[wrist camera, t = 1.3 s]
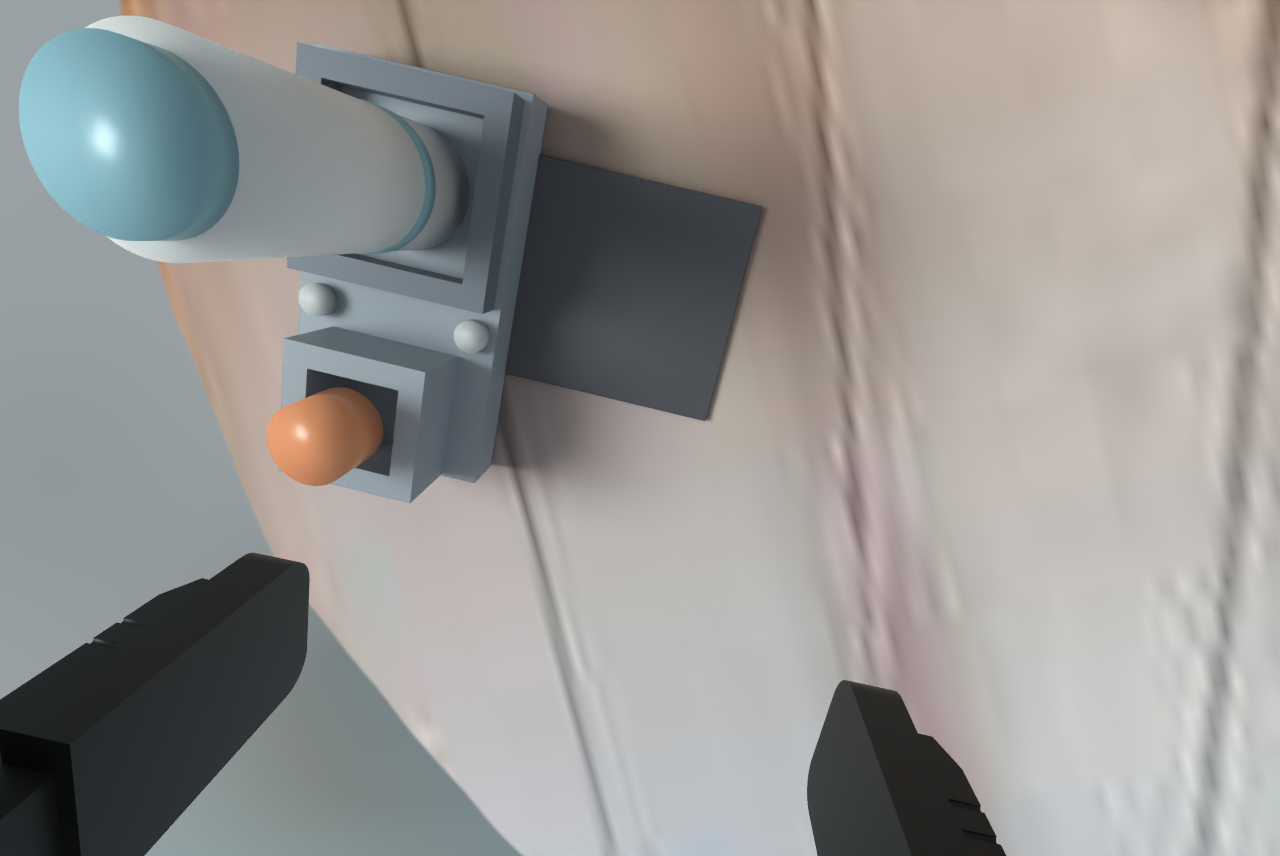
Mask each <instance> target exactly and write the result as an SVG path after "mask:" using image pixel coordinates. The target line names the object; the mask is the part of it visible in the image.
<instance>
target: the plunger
mask: <svg viewBox="0 0 1280 856" xmlns="http://www.w3.org/2000/svg"><path fill="white" fill-rule="evenodd" d="M382 439H383V424H382V420H381V417H380V415H379V413H378V411H377V409H376V408H375V406H374V405H373V404H372V402H371V401H370V400H369V399H368V398H366V397H365V396H364V395H362V394H361V393H359V392H357V391H355V390H352V389H349V388H344V387H334V388H329V389H326V390H324V391H321V392H319V393H317V394H314V395H312V396H309V397H307V398H304V399H302V400H300V401H297V402H295V403H292V404H290V405H288V406H285V407H283V408H282V409H280V410H279V411H278V412H276V414H275V415H274V416H273V417H272V419H271V421H270V423H269V425H268V429H267V444H268V448H269V451H270V454H271V456H272V458H273V460H274V461H275V463H276V464H277V466H278V467H279V468H280V469H281V470H282V471H283V472H284V473H285V474H286V475H288V476H289V477H290V478H292V479H294V480H296V481H298V482H300V483H303V484H306V485H312V486H321V485H327V484H330V483H332V482H334V481H336V480H337V479H339V478H340V477H342V476H343V475H345V474H346V473H348V472H349V471H351V470H352V469H354V468H355V467H357V466H358V465H360V464H361V463H363V462H364V461H365V460H367V459H368V458H370V457H371V456H373V455H374V454H375V453H376V451H377V450H378V449H379V447H380V445H381V442H382Z"/></svg>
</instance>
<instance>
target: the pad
mask: <svg viewBox="0 0 1280 856" xmlns="http://www.w3.org/2000/svg"><path fill="white" fill-rule="evenodd" d="M761 209H762V207H761V206H757V205H753V204H749V203H744V202H740V201H736V200H731V199H727V198H723V197H718V196H714V195H710V194H705V193H701V192H697V191H693V190H688V189H684V188H680V187H675V186H671V185H667V184H662V183H658V182H654V181H650V180H645V179H641V178H637V177H632V176H628V175H624V174H619V173H615V172H611V171H606V170H602V169H598V168H594V167H589V166H585V165H581V164H576V163H572V162H568V161H563V160H559V159H555V158H551V157H546V156H542V155H539V159H538V165H537V172H536V178H535V184H534V191H533V197H532V203H531V209H530V216H529V222H528V228H527V235H526V241H525V247H524V254H523V260H522V266H521V273H520V279H519V285H518V292H517V298H516V304H515V310H514V317H513V323H512V329H511V336H510V342H509V348H508V355H507V361H506V367H505V373H507V374H511V375H516V376H520V377H524V378H528V379H532V380H536V381H540V382H545V383H549V384H553V385H557V386H561V387H565V388H570V389H574V390H578V391H582V392H586V393H590V394H595V395H599V396H603V397H607V398H611V399H615V400H620V401H624V402H628V403H632V404H636V405H640V406H645V407H649V408H653V409H657V410H661V411H665V412H670V413H674V414H678V415H682V416H686V417H690V418H694V419H699V420H703V421H705V419H706V416H707V412H708V408H709V404H710V401H711V397H712V393H713V389H714V386H715V382H716V378H717V374H718V371H719V367H720V363H721V359H722V356H723V352H724V348H725V344H726V341H727V337H728V333H729V329H730V326H731V322H732V318H733V314H734V311H735V307H736V303H737V299H738V296H739V292H740V288H741V284H742V281H743V277H744V273H745V269H746V266H747V262H748V258H749V254H750V251H751V247H752V243H753V239H754V236H755V232H756V228H757V224H758V221H759V217H760V213H761Z"/></svg>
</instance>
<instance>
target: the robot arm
mask: <svg viewBox="0 0 1280 856" xmlns="http://www.w3.org/2000/svg"><path fill="white" fill-rule="evenodd" d="M308 605H309V571H308V568H307V566H306V565H305V564H303V563H300V562H295V561H290V560H286V559H281V558H276V557H272V556H267V555H262V554H257V553H249V554H246V555H245V556H243V557H241V558H240V559H238V560H237V561H235V562H234V563H233V564H231V565H230V566H228V567H227V568H225V569H224V570H223V571H221V572H220V573H218V574H217V575H215V576H214V577H213V578H211V579H210V580H207V579H203V578H202V579H199V580H196V581H194V582H191V583H188V584H186V585H184V586H181V587H178V588H175V589H173V590H170V591H167V592H165V593H162V594H159V595H158V596H156V597H155V598H153V599H152V600H150V601H149V602H147V603H146V604H144V605H143V606H141V607H140V608H138V609H137V610H135V611H134V612H132V613H131V614H129V615H127V616H126V617H124V620H123V622H122V623H115V624H114V625H113V626H111V627H109V628H108V629H106V630H105V631H103V632H102V633H100V634H99V635H97V636H96V637H94V640H93V642H92V643H91V644H88V643H85V644H84V645H82V646H81V647H79V648H78V649H76V650H75V651H73V652H72V653H70V654H69V655H67V656H65V657H64V658H62V659H61V660H59V661H58V662H56V663H55V664H53V665H52V666H50V667H49V668H47V669H46V670H44V671H43V672H41V673H40V674H38V675H37V676H35V677H34V678H32V679H31V680H29V681H28V682H26V683H25V684H23V685H22V686H20V687H19V688H17V689H16V690H14V691H13V692H11V693H10V694H8V695H7V696H5V697H3V698H2V699H0V856H144V855H145V854H146V853H147V852H148V851H149V850H150V849H151V847H152V846H153V845H154V844H155V843H156V842H157V841H158V840H159V839H160V837H161V836H162V835H163V834H164V833H165V832H166V831H167V830H168V829H169V827H170V826H171V825H172V824H173V823H174V822H175V821H176V819H177V818H178V817H179V816H180V815H181V814H182V813H183V812H184V811H185V809H186V808H187V807H188V806H189V805H190V804H191V803H192V801H194V799H195V798H196V797H197V796H198V795H199V794H200V793H201V792H202V790H203V789H204V788H205V787H206V786H207V785H208V784H209V783H210V781H211V780H212V779H213V778H214V777H215V776H216V775H217V774H218V772H219V771H220V770H221V769H222V768H223V767H224V766H225V765H226V764H227V762H228V761H229V760H230V759H231V758H232V757H233V756H234V755H235V754H236V752H237V751H238V750H239V749H240V748H241V747H242V746H243V745H244V743H245V742H246V741H247V740H248V739H249V738H250V737H251V736H252V734H253V733H254V732H255V731H256V730H257V729H258V728H259V726H261V724H262V723H263V722H264V721H265V720H266V719H267V718H268V717H269V715H270V714H271V713H272V712H273V711H274V710H275V709H276V708H277V706H278V705H279V704H280V703H281V702H282V701H283V700H284V699H285V698H286V696H287V695H288V694H289V693H290V691H291V690H292V688H293V687H294V685H295V683H296V682H297V679H298V678H299V676H300V673H301V671H302V668H303V665H304V662H305V658H306V652H307V632H308V631H307V630H308ZM807 801H808V810H809V815H810V820H811V825H812V830H813V835H814V840H815V845H816V850H817V855H818V856H1006V854H1005V852H1004V850H1003V848H1002V846H1001V845H999V844H997V843H996V835H995V833H994V831H993V829H992V827H991V825H990V823H989V821H988V819H987V817H986V815H985V813H982V812H981V811H980V806H981V805H980V803H979V801H978V799H977V797H976V796H975V794H974V792H973V790H972V788H971V786H970V784H969V782H968V780H967V778H966V776H965V774H964V772H963V770H962V769H961V768H960V767H959V765H958V764H957V763H956V762H955V761H954V760H953V759H952V758H951V757H950V756H949V754H948V753H947V752H946V751H945V750H944V749H943V748H942V747H941V746H940V745H939V743H938V742H937V741H936V740H935V739H934V738H933V737H931V736H927V735H922V734H918V733H917V730H916V728H915V726H914V724H913V722H912V719H911V717H910V715H909V713H908V711H907V709H906V706H905V704H904V702H903V700H902V698H901V696H900V695H899V694H898V692H896V691H893V690H889V689H884V688H879V687H874V686H870V685H865V684H860V683H856V682H851V681H846V680H843V681H841V682H840V683H839V684H838V686H837V688H836V690H835V693H834V695H833V698H832V701H831V704H830V707H829V710H828V713H827V716H826V719H825V722H824V725H823V728H822V731H821V734H820V737H819V740H818V743H817V746H816V748H815V751H814V754H813V757H812V760H811V764H810V769H809V775H808V785H807Z"/></svg>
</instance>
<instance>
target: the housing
mask: <svg viewBox="0 0 1280 856" xmlns="http://www.w3.org/2000/svg"><path fill="white" fill-rule="evenodd" d="M296 75H299V76H301V77H304V78H306V79H309V80H312V81H314V82H317V83H319V84H322V85H324V86H327V87H329V88H332V89H334V90H337V91H339V92H342V93H344V94H347V95H350V96H352V97H355V98H357V99H362V100H365V101H368V102H372V103H374V104H377V105H379V106H382V107H384V108H386V109H388V110H390V111H392V112H394V113H395V114H398V115H400V116H403V117H405V118H408V119H410V120H413V121H415V122H418V123H421V124H423V125H426V126H428V127H430V128H432V129H434V130H435V131H437V132H438V133H440V134H441V135H442V136H444V137H445V138H446V139H447V140H448V141H449V142H450V143H451V144H452V145H453V147H454V148H455V149H456V151H457V152H458V154H459V156H460V157H461V159H462V161H463V164H464V166H465V169H466V172H467V176H468V181H469V203H468V209H467V212H466V215H465V218H464V220H463V222H462V224H461V225H460V227H459V228H458V230H457V231H456V232H455V233H454V234H453V235H452V236H451V237H450V238H449V239H448V240H447V241H445V242H443V243H442V244H440V245H438V246H435V247H432V248H429V249H423V250H408V251H391V252H387V253H379V254H357V253H354V254H336V255H318V256H301V257H287V268H291V269H295V270H299V271H301V290H300V292H299V303H300V309H299V328H298V335H296V336H292V337H288V338H284V355H283V377H282V398H281V409H282V408H283V407H285V406H288V405H290V404H292V403H295V402H297V401H300V400H302V399H304V398H307V397H309V396H312V395H314V394H317V393H319V392H321V391H324V390H326V389H329V388H334V387H344V388H349V389H352V390H355V391H357V392H359V393H361V394H362V395H364V396H365V397H366V398H368V399H369V400H370V401H371V402H372V404H373V405H374V406H375V408H376V409H377V411H378V413H379V415H380V417H381V420H382V424H383V439H382V442H381V445H380V447H379V449H378V450H377V451H376V453H375V454H374V455H373V456H371V457H370V458H368V459H367V460H365V461H364V462H363V463H361V464H360V465H358V466H357V467H355V468H354V469H352V470H351V471H349V472H348V473H346V474H345V475H343V476H342V477H340V478H339V479H337V480H336V481H334V482H332V483H330V484H333V485H337V486H341V487H345V488H349V489H353V490H358V491H362V492H366V493H370V494H374V495H378V496H382V497H386V498H390V499H394V500H398V501H402V502H406V503H411V502H412V501H413V500H414V499H415V498H416V497H417V496H418V495H419V494H421V493H422V492H423V491H424V490H425V489H426V488H427V487H428V486H429V485H430V484H431V483H432V482H433V481H435V480H436V479H437V478H438V477H439V476H440V475H443V476H447V477H451V478H455V479H459V480H463V481H467V482H471V483H475V482H476V481H477V480H478V479H479V478H480V477H481V475H482V474H483V473H484V472H485V471H486V470H487V469H488V468H489V467H490V466H491V462H492V456H493V450H494V443H495V437H496V431H497V424H498V418H499V412H500V406H501V399H502V393H503V387H504V380H505V374H506V373H505V367H506V361H507V355H508V348H509V342H510V336H511V329H512V323H513V317H514V310H515V304H516V298H517V292H518V285H519V279H520V273H521V266H522V260H523V254H524V247H525V241H526V235H527V228H528V222H529V216H530V209H531V203H532V197H533V191H534V184H535V178H536V172H537V165H538V159H539V155H540V154H541V148H542V141H543V135H544V129H545V122H546V116H547V110H548V106H547V105H546V104H545V103H544V102H542V101H541V100H540V99H539V98H538V97H537V96H535V95H534V94H532V93H527V92H523V91H519V90H514V89H510V88H506V87H501V86H497V85H493V84H488V83H484V82H480V81H475V80H471V79H467V78H462V77H458V76H453V75H449V74H445V73H440V72H436V71H432V70H427V69H423V68H419V67H414V66H410V65H406V64H401V63H397V62H393V61H388V60H384V59H380V58H375V57H371V56H367V55H362V54H358V53H354V52H349V51H345V50H341V49H336V48H332V47H327V46H323V45H319V44H314V43H313V46H311V45H306V44H302V43H298V42H297V59H296ZM278 471H280V472H283V471H282V470H281V469H280V468H279V467H278Z"/></svg>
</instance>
